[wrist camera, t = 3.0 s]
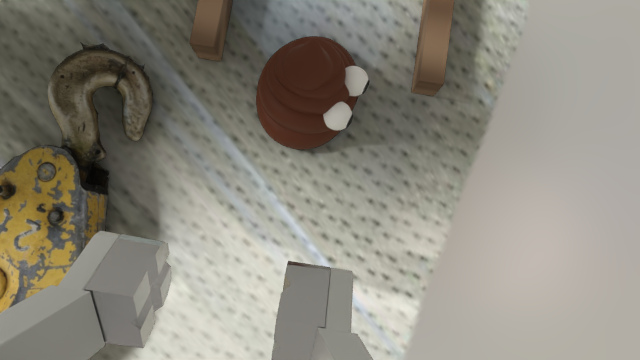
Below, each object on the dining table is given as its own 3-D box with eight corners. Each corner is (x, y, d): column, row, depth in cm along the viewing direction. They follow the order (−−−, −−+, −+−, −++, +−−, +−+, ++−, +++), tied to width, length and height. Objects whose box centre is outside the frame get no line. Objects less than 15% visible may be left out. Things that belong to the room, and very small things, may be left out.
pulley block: (189, 68, 33) (-19, 470, 29) (216, 97, 39) (45, 437, 35) (37, 7, 35) (-172, 369, 32) (84, 43, 41) (-89, 353, 37)
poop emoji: (290, 29, 40) (285, -34, 31) (377, 69, 40) (398, 18, 31) (240, 127, 39) (219, 93, 30) (329, 169, 39) (336, 147, 29)
